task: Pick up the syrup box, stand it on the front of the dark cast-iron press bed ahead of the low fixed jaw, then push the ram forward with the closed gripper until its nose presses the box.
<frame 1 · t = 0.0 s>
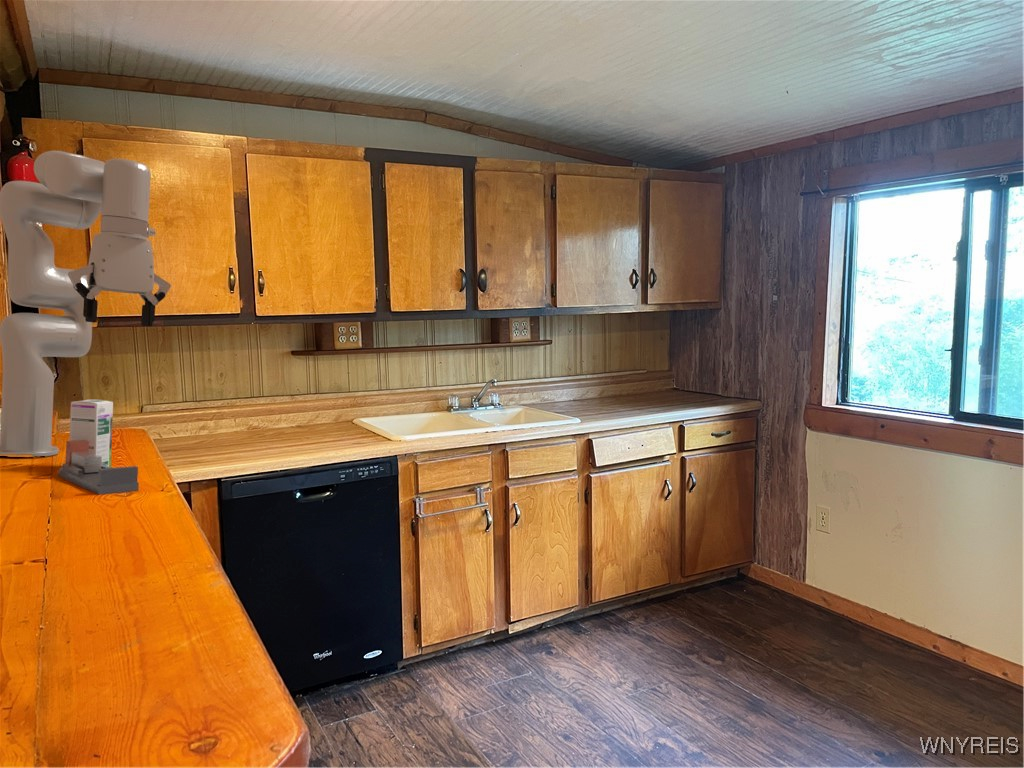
hand: (119, 324, 129), 31 cm above the countertop, fingers open, 9 cm apart
press bed: (97, 483, 136), on the countertop
ram: (84, 455, 140), point 4 cm above the countertop, slide at 0.0 cm
syrup box: (89, 469, 148), on the countertop
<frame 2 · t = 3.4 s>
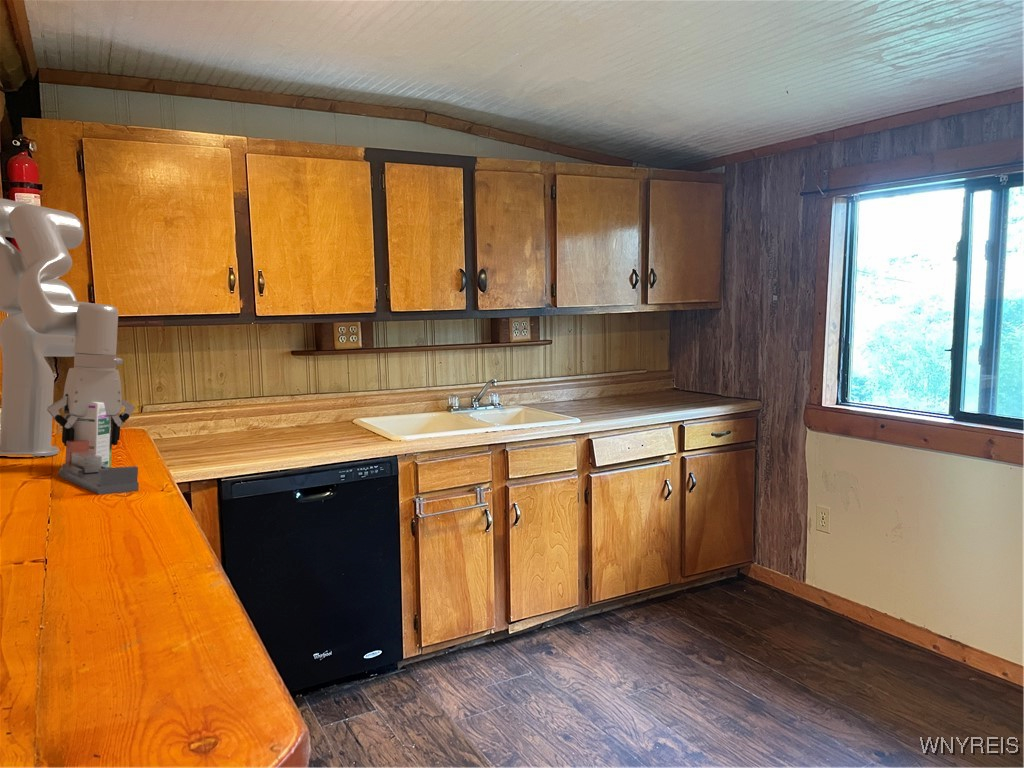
hand: (91, 444, 148), 5 cm above the countertop, fingers closed on syrup box, 8 cm apart
syrup box: (89, 469, 148), on the countertop, touching gripper
everything else where it was.
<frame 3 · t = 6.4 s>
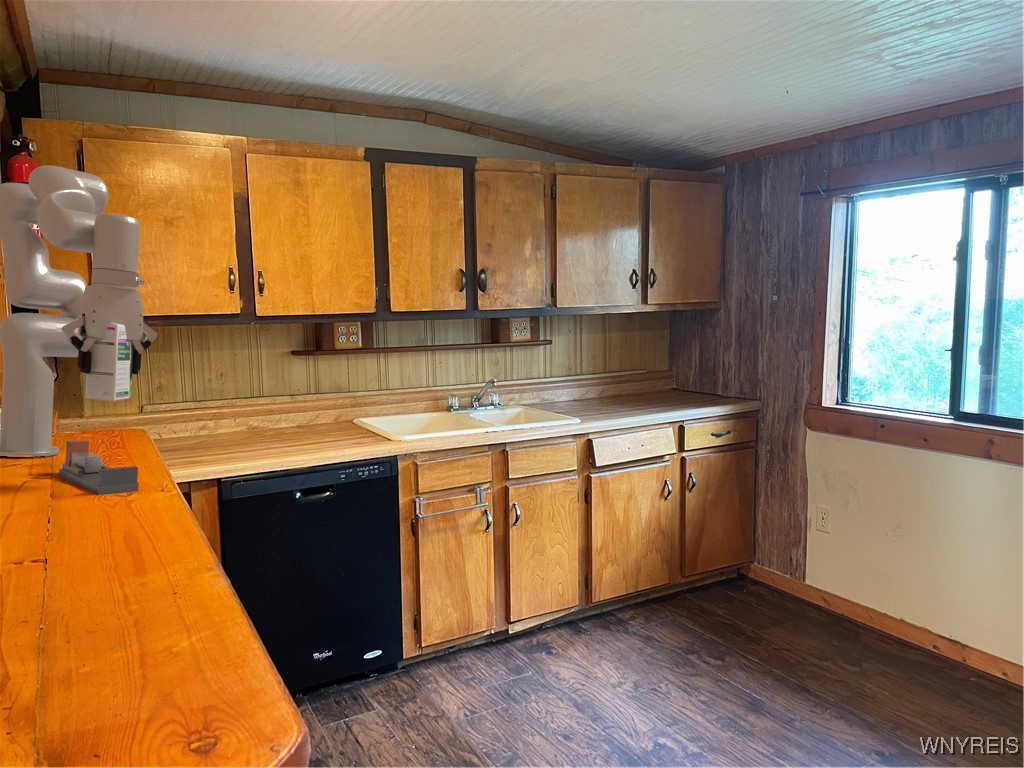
hand: (109, 372, 133), 22 cm above the countertop, fingers closed on syrup box, 8 cm apart
syrup box: (107, 400, 134), point 17 cm above the countertop, touching gripper
everything else where it was.
when the fingers open (8 cm above the countertop, at t = 9.8 s): syrup box drops 1 cm, resting on press bed.
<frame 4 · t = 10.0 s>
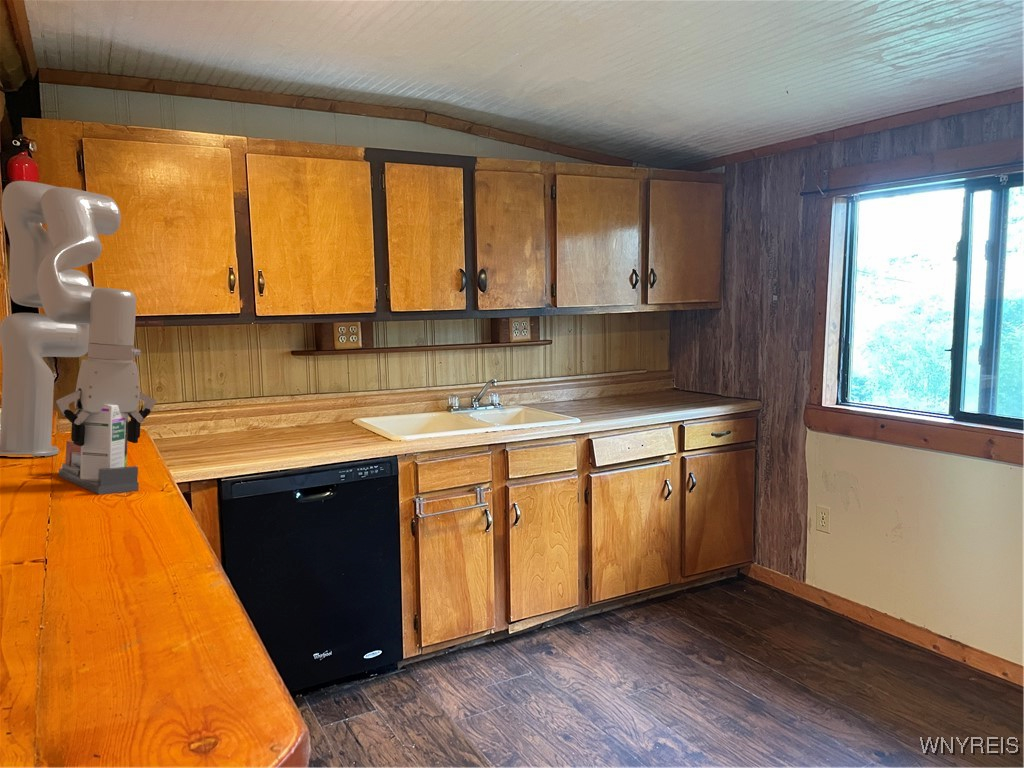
hand: (106, 443, 134), 8 cm above the countertop, fingers open, 9 cm apart
syrup box: (102, 479, 134), point 1 cm above the countertop, touching press bed
everything else where it was.
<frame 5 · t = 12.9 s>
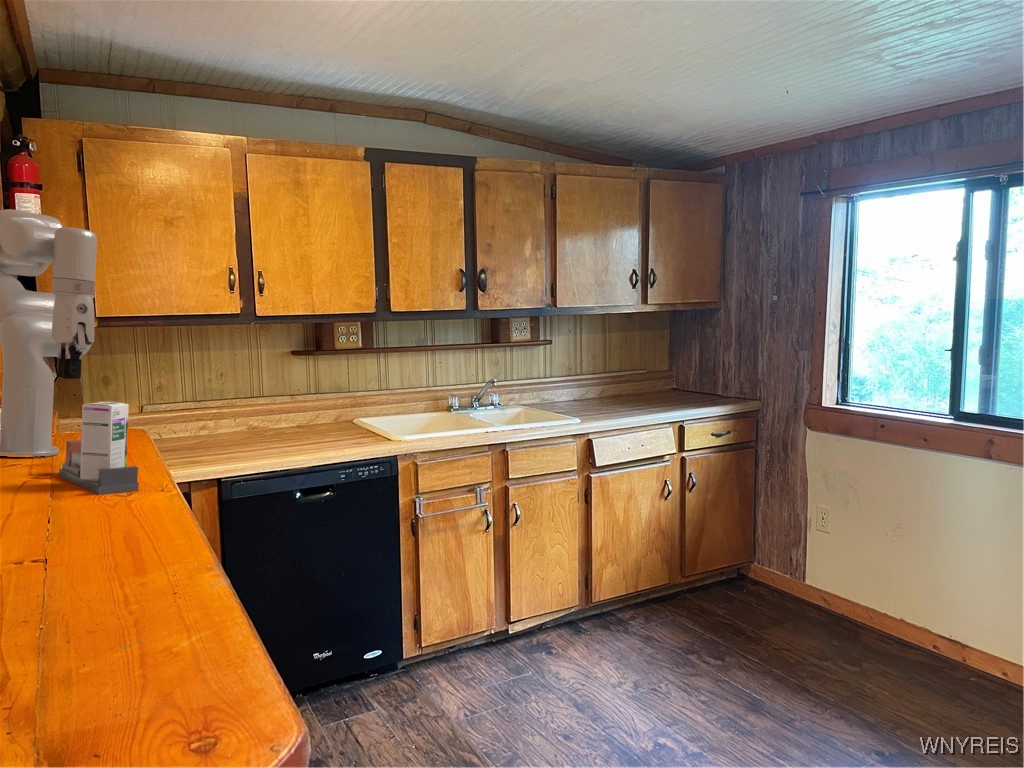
hand: (69, 377, 145), 19 cm above the countertop, fingers closed
nothing on the countertop moved.
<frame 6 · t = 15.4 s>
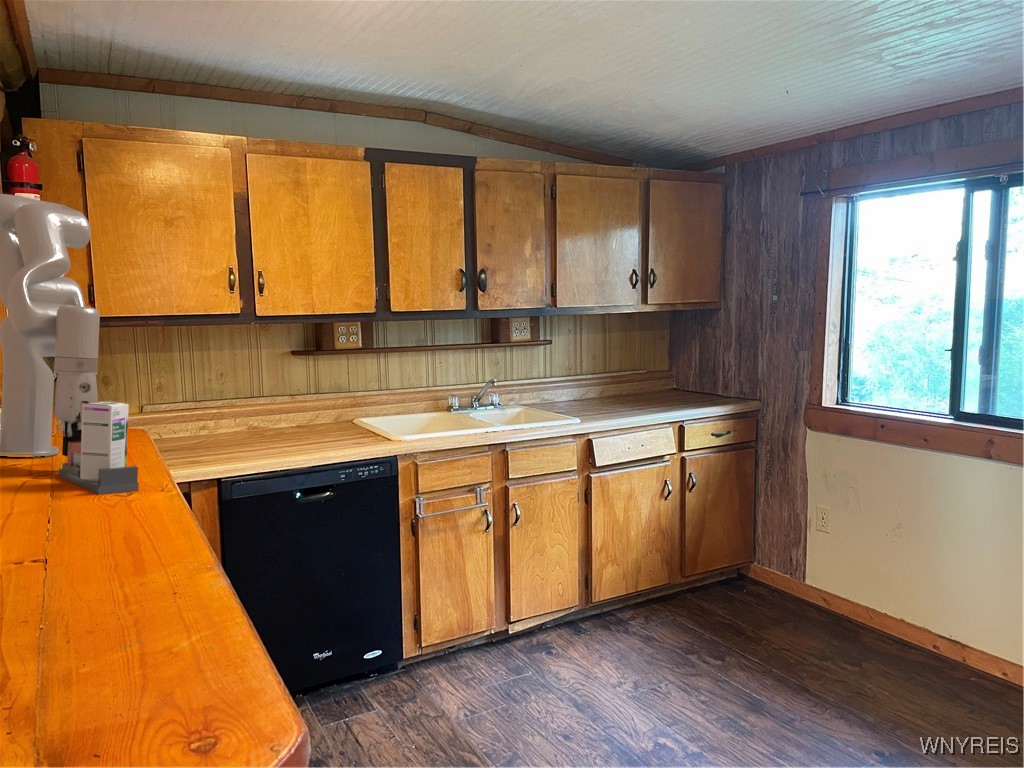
hand: (72, 455, 144), 3 cm above the countertop, fingers closed
ram: (85, 456, 140), point 4 cm above the countertop, slide at 0.9 cm, touching gripper
everything else where it was.
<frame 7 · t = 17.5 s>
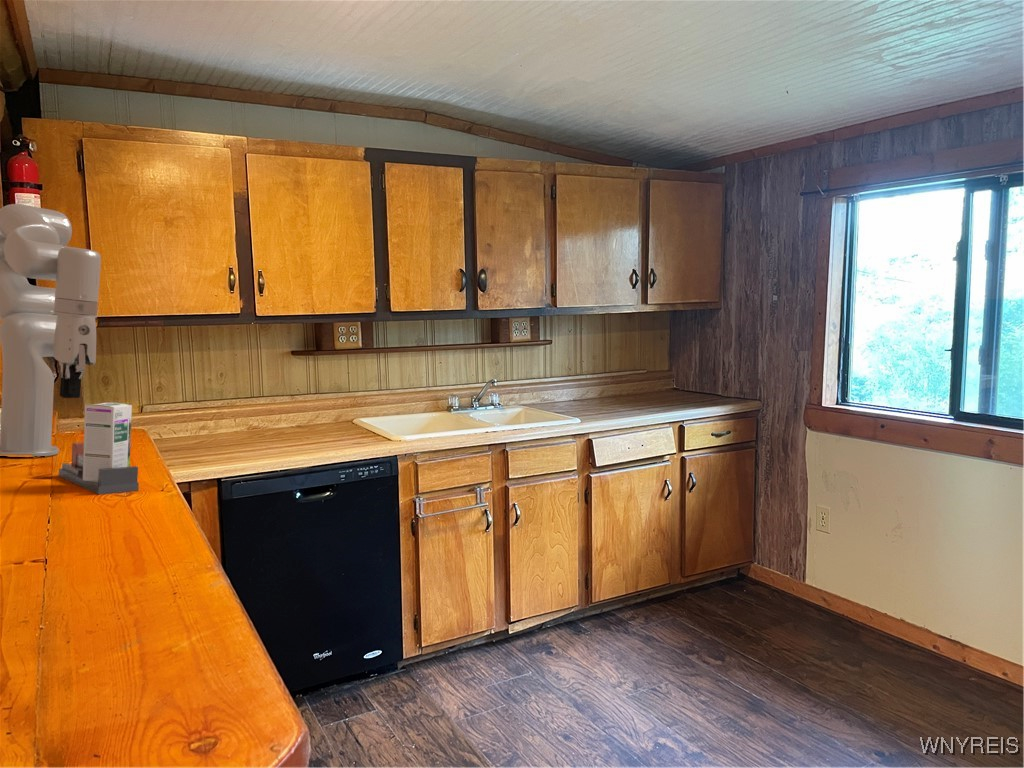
hand: (69, 397, 145), 15 cm above the countertop, fingers closed
ram: (90, 458, 138), point 4 cm above the countertop, slide at 3.0 cm
syrup box: (105, 480, 133), point 1 cm above the countertop, touching press bed
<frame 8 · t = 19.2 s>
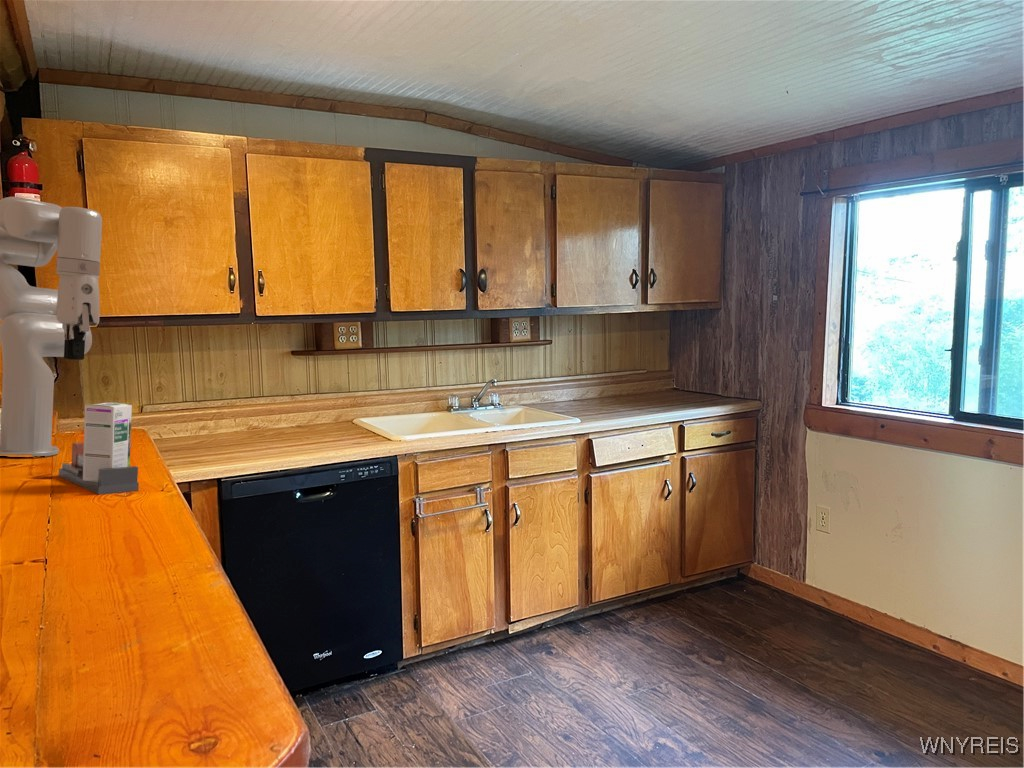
hand: (73, 359, 144), 23 cm above the countertop, fingers closed
nothing on the countertop moved.
at the end: ram slide at 3.0 cm; syrup box inside the target area (0.6 cm from its centre), point 1.3 cm above the countertop; syrup box tilted 0° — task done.
